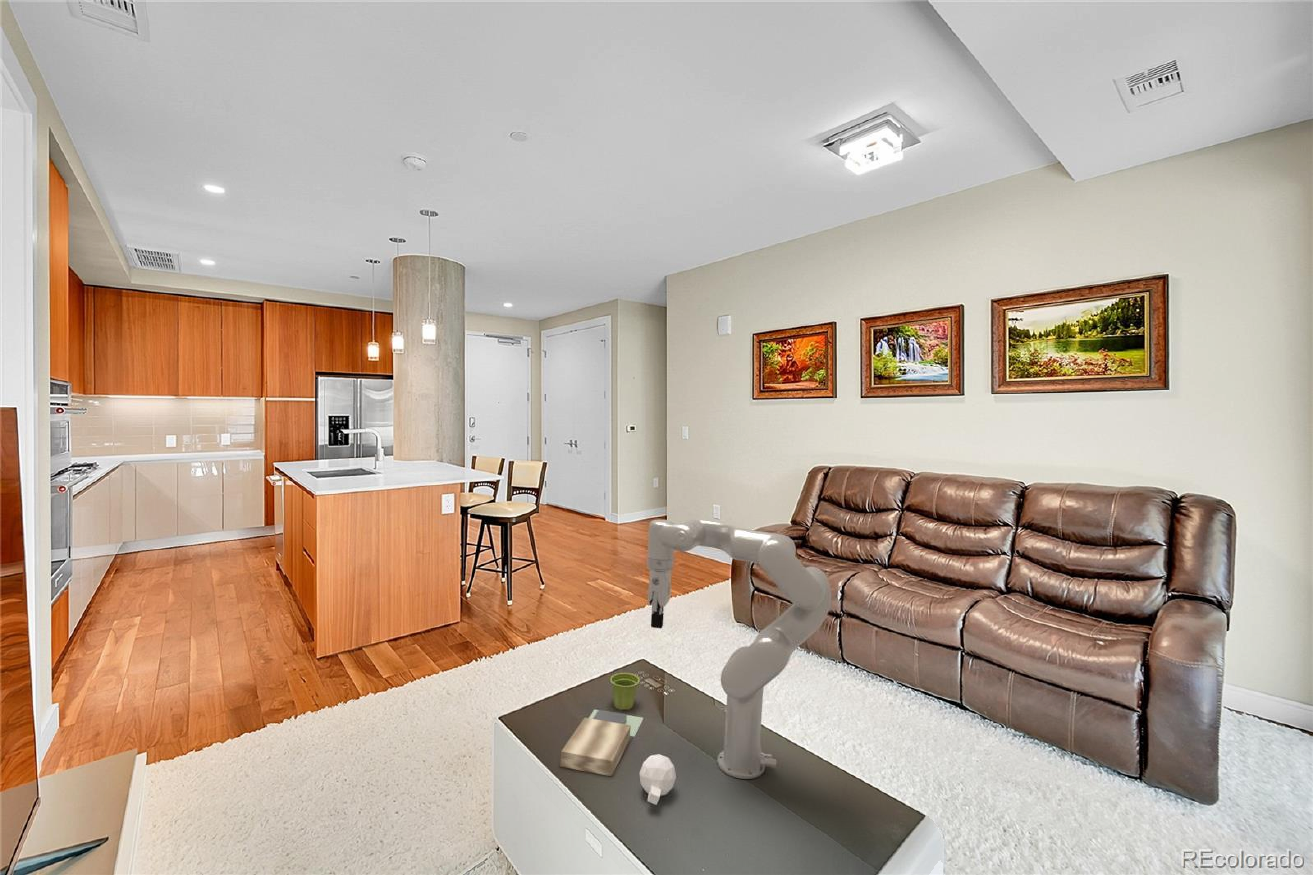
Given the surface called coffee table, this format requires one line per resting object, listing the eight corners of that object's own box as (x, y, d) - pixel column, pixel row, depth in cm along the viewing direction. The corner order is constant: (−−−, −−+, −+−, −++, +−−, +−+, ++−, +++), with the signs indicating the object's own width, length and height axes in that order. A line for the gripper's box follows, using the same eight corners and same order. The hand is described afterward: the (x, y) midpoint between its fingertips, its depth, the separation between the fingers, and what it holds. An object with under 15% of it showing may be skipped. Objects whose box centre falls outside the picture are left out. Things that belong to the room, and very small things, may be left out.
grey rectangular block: (621, 724, 165) (621, 731, 165) (626, 714, 171) (626, 720, 171) (592, 719, 167) (592, 726, 167) (598, 709, 173) (598, 716, 173)
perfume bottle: (637, 769, 144) (630, 806, 132) (649, 740, 143) (643, 774, 131) (669, 783, 144) (664, 821, 132) (681, 753, 142) (678, 789, 130)
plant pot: (643, 704, 182) (645, 678, 182) (627, 716, 174) (628, 688, 174) (620, 696, 187) (621, 670, 187) (603, 707, 179) (604, 680, 179)
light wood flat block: (629, 739, 162) (630, 725, 162) (611, 776, 144) (612, 761, 144) (584, 731, 165) (584, 717, 165) (560, 766, 147) (561, 751, 147)
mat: (643, 718, 173) (643, 717, 173) (634, 737, 163) (634, 736, 163) (594, 710, 177) (594, 709, 177) (582, 728, 166) (582, 727, 166)
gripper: (667, 571, 152) (664, 638, 153) (677, 559, 167) (674, 620, 167) (641, 568, 154) (637, 634, 154) (653, 556, 169) (650, 617, 169)
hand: (656, 626), depth 161 cm, fingers closed
